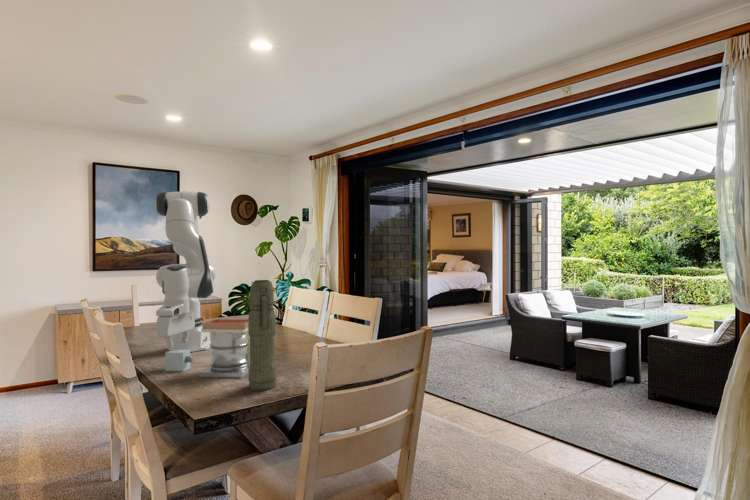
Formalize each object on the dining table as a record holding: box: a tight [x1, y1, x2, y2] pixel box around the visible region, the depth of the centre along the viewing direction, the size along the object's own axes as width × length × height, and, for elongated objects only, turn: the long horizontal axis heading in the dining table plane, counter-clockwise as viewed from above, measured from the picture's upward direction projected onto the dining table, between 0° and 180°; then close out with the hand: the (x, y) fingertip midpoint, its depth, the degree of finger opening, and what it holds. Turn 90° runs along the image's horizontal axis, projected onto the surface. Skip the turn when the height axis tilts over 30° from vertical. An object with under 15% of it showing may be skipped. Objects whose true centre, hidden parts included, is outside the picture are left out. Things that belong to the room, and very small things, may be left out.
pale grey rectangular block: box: [164, 349, 194, 372], centre depth 169 cm, size 5×9×7 cm, turn 84°
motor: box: [198, 318, 250, 379], centre depth 166 cm, size 16×16×19 cm
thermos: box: [248, 279, 277, 392], centre depth 147 cm, size 9×12×35 cm
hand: (177, 345), depth 169 cm, fingers open, 8 cm apart
